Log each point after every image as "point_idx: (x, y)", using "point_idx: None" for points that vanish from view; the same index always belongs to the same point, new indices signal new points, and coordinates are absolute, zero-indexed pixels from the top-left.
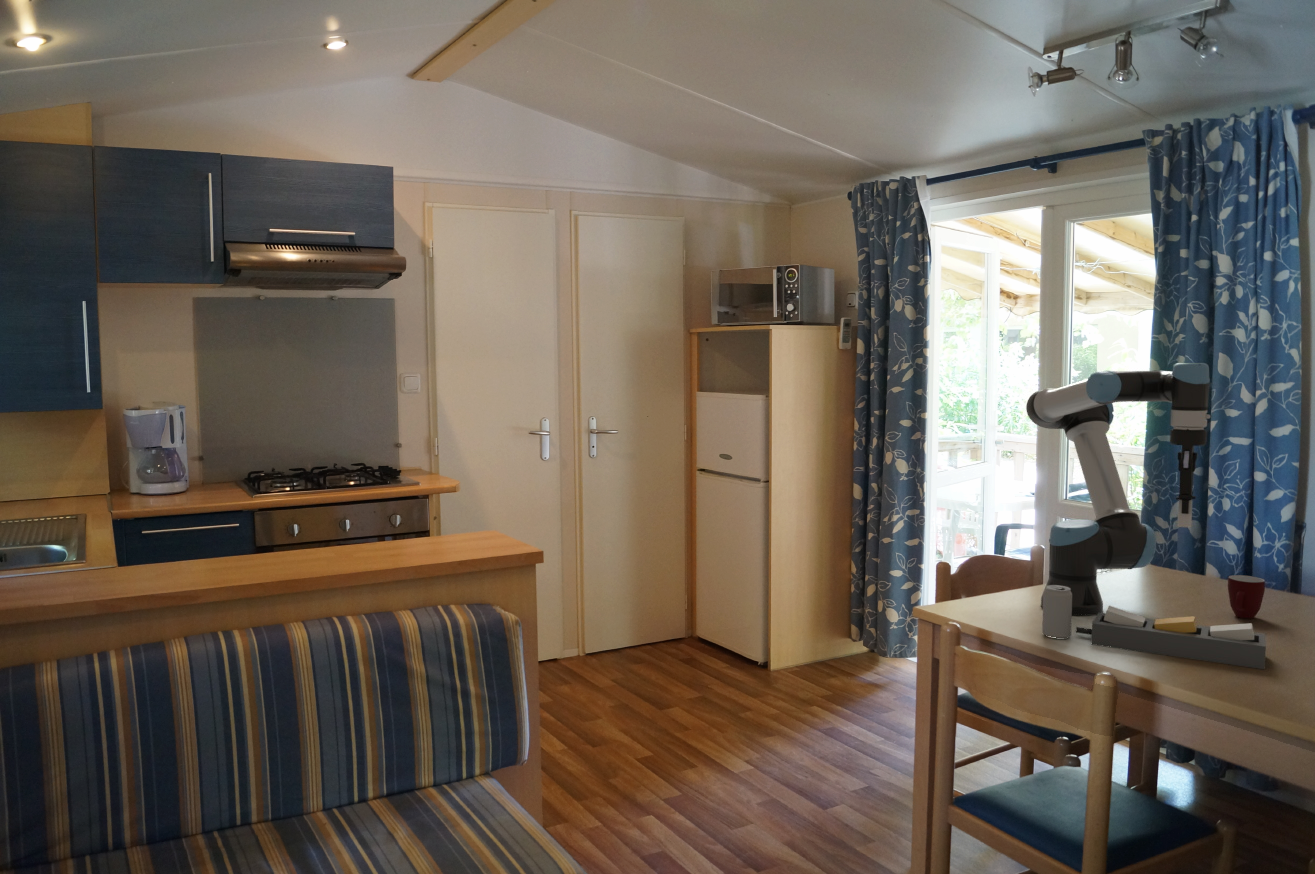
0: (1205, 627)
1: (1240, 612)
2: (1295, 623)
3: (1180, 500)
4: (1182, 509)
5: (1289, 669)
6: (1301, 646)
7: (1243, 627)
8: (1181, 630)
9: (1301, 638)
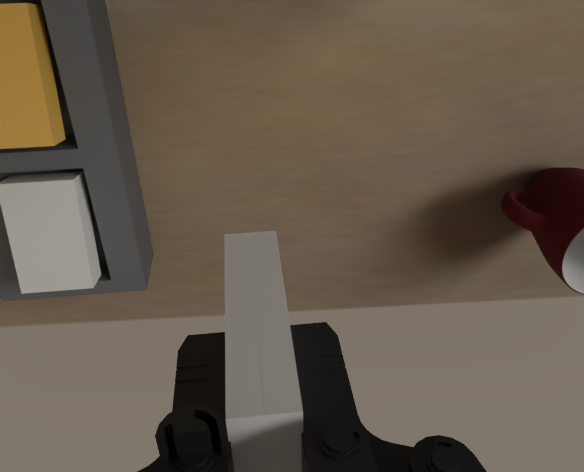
0: (100, 157)
1: (529, 189)
2: (518, 285)
3: (228, 422)
4: (179, 371)
5: (69, 300)
6: (297, 306)
7: (41, 271)
8: None
9: (374, 302)
